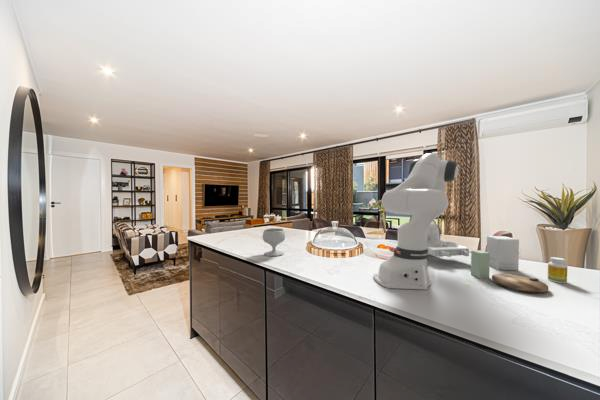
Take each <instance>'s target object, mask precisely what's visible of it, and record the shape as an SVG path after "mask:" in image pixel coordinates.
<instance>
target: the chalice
mask: <svg viewBox="0 0 600 400" xmlns="http://www.w3.org/2000/svg"><path fill="white" fill-rule="evenodd" d="M285 239H286V233H285V231H284V229H283V228H276V227H275V228H267V229H264V230H263V232H262V241H263V242H265V243H266V244H268V245H270V246H271V248H272V250H269V251H265V252H264V255H265V256H267V257H278V256H282V255H284V254H285V253H284V251H282V250H276V247H277V246H278V245H279V244H281V243H283V242H284V241H285Z"/></svg>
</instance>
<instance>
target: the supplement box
mask: <svg viewBox="0 0 600 400" xmlns="http://www.w3.org/2000/svg"><path fill="white" fill-rule="evenodd" d="M519 245H520V239H517V238H514V237H509V236H506V235H504V236H503V235H487V236H486V252H488V253H490V267H491V268H494V269H495V270H500V271H501V270H504V271H517V272H518V271H519V255H520V254H519V253H520V252H519V249H520V246H519Z"/></svg>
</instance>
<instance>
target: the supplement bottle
mask: <svg viewBox="0 0 600 400" xmlns="http://www.w3.org/2000/svg"><path fill="white" fill-rule="evenodd" d="M547 280H548V281H551V282H554V283H558V284H567V282H568V264H566V259H565V258H562V257H557V256H556V257H555V256H551V257H550V261H548V263H547Z"/></svg>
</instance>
